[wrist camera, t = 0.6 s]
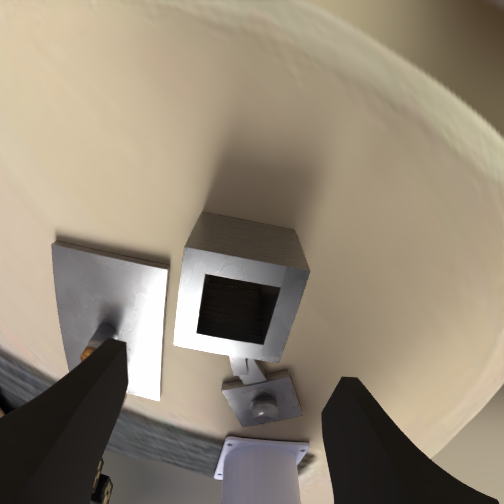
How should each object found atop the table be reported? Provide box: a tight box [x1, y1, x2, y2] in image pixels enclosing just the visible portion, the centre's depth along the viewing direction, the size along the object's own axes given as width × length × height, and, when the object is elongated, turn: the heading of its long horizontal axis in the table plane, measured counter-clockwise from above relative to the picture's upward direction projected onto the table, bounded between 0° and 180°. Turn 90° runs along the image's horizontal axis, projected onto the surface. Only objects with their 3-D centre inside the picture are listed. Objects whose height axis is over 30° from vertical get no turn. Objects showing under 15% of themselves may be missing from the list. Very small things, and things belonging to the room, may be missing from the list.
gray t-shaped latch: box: [222, 356, 302, 427], centre depth 21 cm, size 10×5×2 cm, turn 17°
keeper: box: [51, 241, 170, 419], centre depth 19 cm, size 12×8×4 cm, turn 168°
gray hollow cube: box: [173, 212, 310, 363], centre depth 16 cm, size 5×5×5 cm
